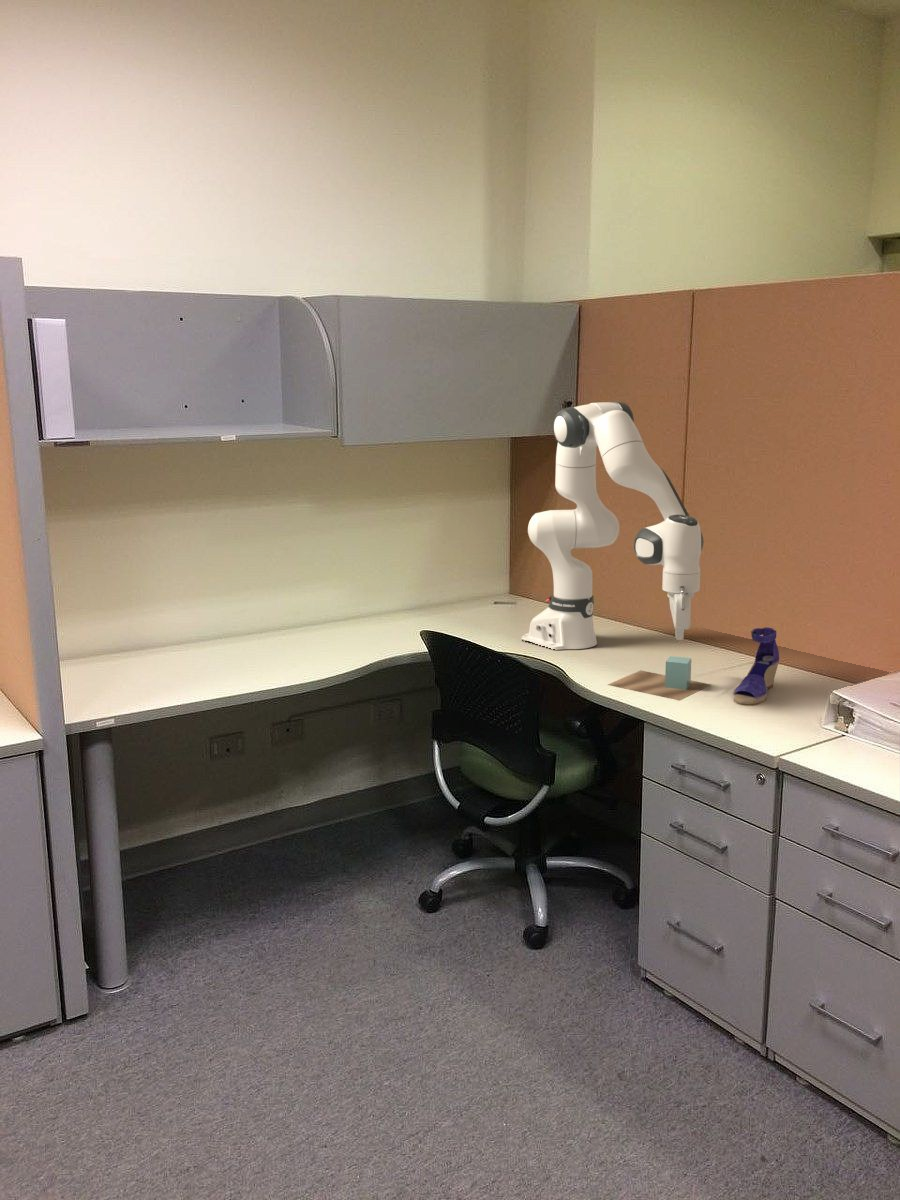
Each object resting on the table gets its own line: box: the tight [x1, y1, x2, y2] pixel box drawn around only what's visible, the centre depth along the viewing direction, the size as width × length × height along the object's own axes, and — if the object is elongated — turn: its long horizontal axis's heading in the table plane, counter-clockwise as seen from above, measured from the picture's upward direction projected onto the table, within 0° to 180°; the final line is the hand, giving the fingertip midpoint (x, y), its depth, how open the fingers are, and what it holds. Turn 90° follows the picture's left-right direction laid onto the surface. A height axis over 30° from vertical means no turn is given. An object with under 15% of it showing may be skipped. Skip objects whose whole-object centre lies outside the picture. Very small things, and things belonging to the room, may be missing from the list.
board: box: [607, 670, 712, 702], centre depth 248 cm, size 20×16×1 cm
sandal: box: [732, 627, 780, 706], centre depth 240 cm, size 8×20×15 cm, turn 136°
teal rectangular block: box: [664, 655, 692, 690], centre depth 246 cm, size 5×5×7 cm
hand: (679, 638), depth 244 cm, fingers closed
